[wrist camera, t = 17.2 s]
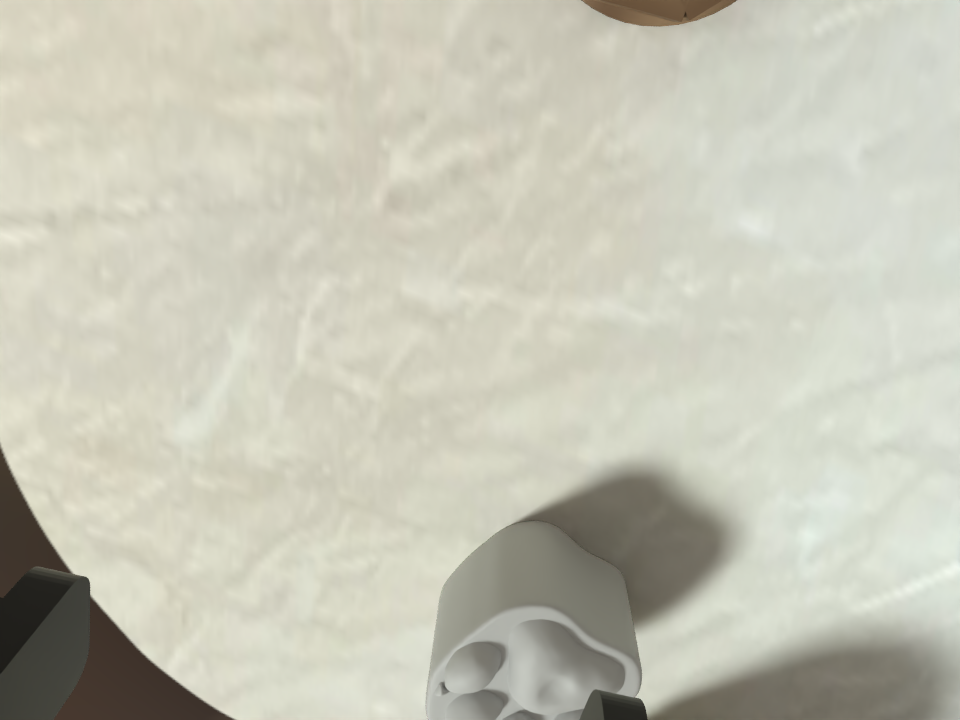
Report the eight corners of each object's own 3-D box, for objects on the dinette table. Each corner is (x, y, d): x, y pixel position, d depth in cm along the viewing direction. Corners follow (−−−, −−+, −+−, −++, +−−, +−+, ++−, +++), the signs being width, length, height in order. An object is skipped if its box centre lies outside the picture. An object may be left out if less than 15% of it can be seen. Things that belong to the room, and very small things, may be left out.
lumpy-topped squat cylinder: (647, 588, 46) (674, 703, 38) (518, 697, 51) (518, 819, 43) (522, 502, 44) (523, 605, 36) (399, 624, 48) (376, 739, 41)
